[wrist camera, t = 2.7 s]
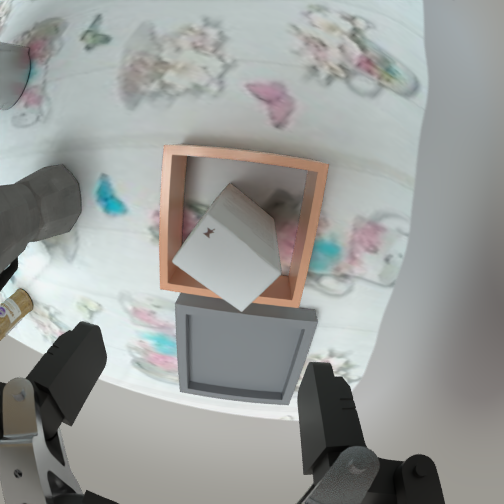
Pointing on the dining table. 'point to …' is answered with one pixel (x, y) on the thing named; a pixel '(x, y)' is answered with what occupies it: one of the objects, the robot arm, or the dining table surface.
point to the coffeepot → (35, 213)
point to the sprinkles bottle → (13, 311)
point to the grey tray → (241, 349)
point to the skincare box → (232, 249)
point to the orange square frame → (171, 220)
